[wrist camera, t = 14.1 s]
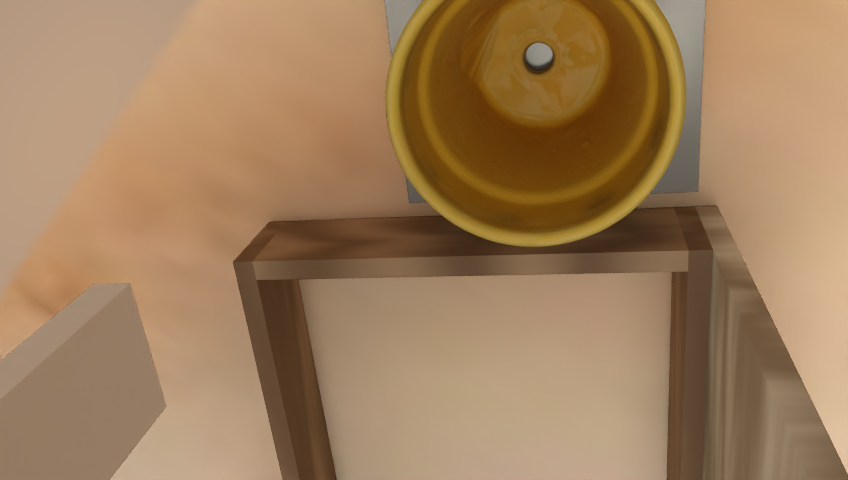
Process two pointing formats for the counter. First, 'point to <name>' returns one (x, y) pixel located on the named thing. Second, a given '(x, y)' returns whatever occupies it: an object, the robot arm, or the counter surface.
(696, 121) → the slate pad
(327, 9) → the counter surface
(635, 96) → the plant pot
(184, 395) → the counter surface
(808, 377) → the counter surface
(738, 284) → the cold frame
